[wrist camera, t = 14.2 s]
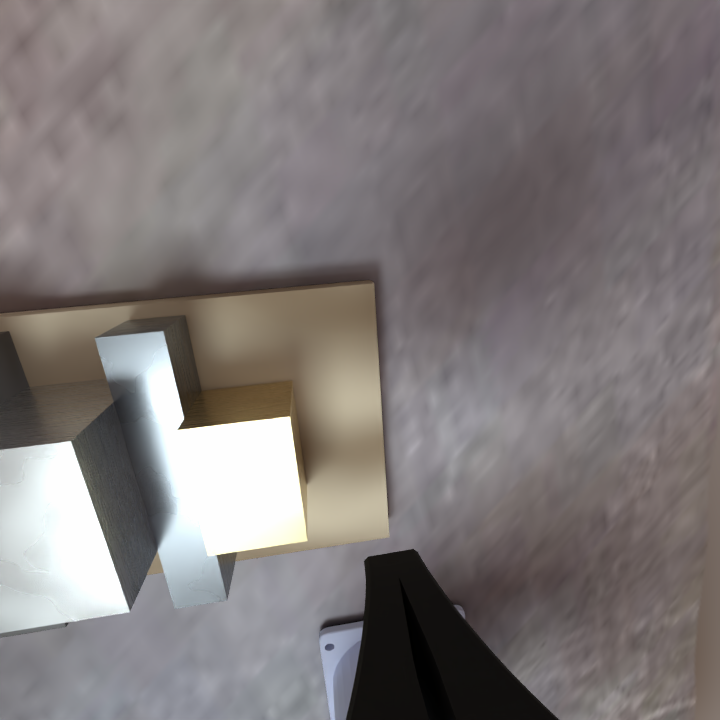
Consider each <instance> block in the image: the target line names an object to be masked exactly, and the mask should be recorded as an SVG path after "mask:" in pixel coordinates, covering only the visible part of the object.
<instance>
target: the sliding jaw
mask: <svg viewBox="0 0 720 720" xmlns="http://www.w3.org/2000/svg"><path fill="white" fill-rule="evenodd" d="M95 341H96V344H97V348H98V351H99V355H100V358H101V361H102V365H103V368H104V371H105V375H106V378H107V382H108V385H109V388H110V392H111V395H112V398H113V402H114V405H115V408H116V412H117V415H118V419H119V422H120V425H121V429H122V432H123V435H124V439H125V442H126V446H127V449H128V452H129V456H130V459H131V462H132V466H133V469H134V473H135V476H136V479H137V483H138V486H139V489H140V493H141V496H142V500H143V503H144V506H145V510H146V513H147V516H148V520H149V523H150V527H151V530H152V533H153V537H154V540H155V543H156V547H157V550H158V554H159V557H160V560H161V564H162V567H163V571H164V574H165V577H166V581H167V584H168V587H169V591H170V594H171V598H172V601H173V604H174V608H175V609H177V608H184V607H190V606H196V605H202V604H208V603H214V602H220V601H226V600H227V599H228V594H229V589H230V585H231V580H232V575H233V570H234V565H235V560H236V556H237V552H239V551H245V550H252V549H258V548H265V547H271V546H278V545H284V544H291V543H297V542H304V541H308V537H307V483H306V476H305V468H304V461H303V453H302V446H301V439H300V431H299V424H298V417H297V409H296V402H295V395H294V387H293V381H284V382H275V383H266V384H258V385H249V386H240V387H231V388H222V389H214V390H205V391H202V390H201V386H200V381H199V376H198V372H197V367H196V363H195V358H194V353H193V349H192V344H191V340H190V335H189V330H188V326H187V321H186V316H185V315H179V316H168V317H158V318H147V319H137V320H127V321H125V322H123V323H122V324H120V325H118V326H116V327H114V328H112V329H110V330H108V331H107V332H105V333H103V334H101V335H99V336H97V337H95Z"/></svg>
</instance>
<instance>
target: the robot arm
mask: <svg viewBox="0 0 720 720" xmlns="http://www.w3.org/2000/svg"><path fill="white" fill-rule="evenodd" d="M364 564H365V574H366V599H365V612H364V621H360V622H354V623H349V624H343V625H337V626H332V627H327V628H324V629H323V630H321V631H320V633H319V644H320V651H321V658H322V665H323V671H324V678H325V685H326V692H327V699H328V706H329V713H330V719H331V720H559V719H558V718H557V717H556V716H555V715H553V714H552V713H551V712H550V711H549V710H548V709H547V708H546V707H545V706H544V705H543V704H542V703H541V702H540V701H539V700H538V699H537V698H536V697H535V696H534V695H533V694H532V693H531V692H530V691H529V690H528V689H527V688H526V687H525V686H524V685H523V684H522V683H521V682H520V681H519V680H518V679H517V678H516V677H515V676H514V675H513V674H512V673H511V672H510V671H509V670H508V669H507V668H506V666H505V665H504V664H503V663H502V662H501V661H500V660H499V659H498V658H497V657H496V656H495V654H494V653H493V652H492V651H491V650H490V649H489V648H488V646H487V645H486V644H485V643H484V642H483V641H482V640H481V638H480V637H479V636H478V635H477V634H476V633H475V631H474V630H473V629H472V628H471V627H470V625H469V624H468V623H467V622H466V620H465V613H464V610H463V608H462V607H461V606H459V605H453V604H452V603H451V601H450V600H449V598H448V597H447V596H446V594H445V593H444V592H443V590H442V589H441V588H440V586H439V585H438V583H437V582H436V580H435V579H434V578H433V576H432V575H431V573H430V572H429V570H428V569H427V567H426V565H425V564H424V562H423V561H422V559H421V557H420V556H419V554H418V552H417V551H415V550H414V549H411V550H405V551H399V552H393V553H388V554H382V555H376V556H370V557H367V559H366V560H365V561H364Z"/></svg>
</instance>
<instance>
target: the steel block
mask: <svg viewBox="0 0 720 720" xmlns="http://www.w3.org/2000/svg"><path fill="white" fill-rule="evenodd" d="M157 551H158V550H157V547H156V543H155V540H154V537H153V533H152V530H151V527H150V523H149V520H148V516H147V513H146V510H145V506H144V503H143V500H142V496H141V493H140V489H139V486H138V483H137V479H136V476H135V473H134V469H133V466H132V462H131V459H130V456H129V452H128V449H127V446H126V442H125V439H124V435H123V432H122V429H121V425H120V422H119V419H118V415H117V412H116V408H115V405H114V402H113V398H112V395H111V392H110V388H109V385H108V382H107V379H98V380H89V381H80V382H70V383H61V384H52V385H43V386H34V387H29V388H27V389H25V390H23V391H22V392H20V393H18V394H17V395H15V396H13V397H11V398H10V399H8V400H6V401H5V402H3V403H1V404H0V633H5V632H11V631H17V630H23V629H29V628H36V627H42V626H48V625H54V624H60V623H66V622H72V621H78V620H84V619H90V618H97V617H103V616H109V615H115V614H121V613H127V612H130V611H131V608H132V606H133V604H134V602H135V599H136V597H137V595H138V593H139V591H140V588H141V586H142V584H143V582H144V580H145V577H146V575H147V573H148V571H149V569H150V566H151V564H152V562H153V560H154V558H155V555H156V553H157Z"/></svg>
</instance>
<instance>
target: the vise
mask: <svg viewBox="0 0 720 720" xmlns="http://www.w3.org/2000/svg"><path fill="white" fill-rule="evenodd" d="M179 315H185V316H186V321H187V326H188V330H189V335H190V340H191V344H192V349H193V353H194V358H195V363H196V367H197V372H198V376H199V381H200V386H201V390H202V391H205V390H214V389H222V388H231V387H240V386H249V385H258V384H266V383H275V382H284V381H293V387H294V395H295V402H296V409H297V417H298V424H299V431H300V439H301V446H302V453H303V461H304V468H305V476H306V483H307V537H308V541H304V542H297V543H291V544H284V545H278V546H271V547H265V548H258V549H252V550H245V551H239V552H237V556H236V560H235V561H240V560H247V559H253V558H260V557H266V556H272V555H279V554H285V553H292V552H298V551H304V550H311V549H317V548H324V547H330V546H337V545H343V544H349V543H356V542H362V541H369V540H375V539H381V538H388V537H389V524H388V507H387V490H386V474H385V457H384V440H383V423H382V407H381V390H380V373H379V357H378V340H377V323H376V307H375V290H374V283H373V282H372V281H371V280H364V281H353V282H342V283H331V284H319V285H308V286H297V287H286V288H275V289H264V290H253V291H242V292H231V293H220V294H209V295H198V296H187V297H176V298H165V299H154V300H143V301H132V302H121V303H110V304H99V305H88V306H77V307H66V308H55V309H44V310H33V311H22V312H11V313H0V404H1V403H3V402H5V401H6V400H8V399H10V398H11V397H13V396H15V395H17V394H18V393H20V392H22V391H23V390H25V389H27V388H29V387H34V386H43V385H52V384H61V383H70V382H80V381H89V380H98V379H107V378H106V375H105V371H104V368H103V365H102V361H101V358H100V355H99V351H98V348H97V344H96V341H95V337H97V336H99V335H101V334H103V333H105V332H107V331H108V330H110V329H112V328H114V327H116V326H118V325H120V324H122V323H123V322H125V321H127V320H137V319H147V318H158V317H168V316H179ZM163 572H164V571H163V567H162V564H161V560H160V557H159V554H158V551H157V553H156V555H155V558H154V560H153V562H152V564H151V566H150V569H149V571H148V573H147V575H151V574H157V573H163ZM68 623H69V622H66V623H60V624H54V625H48V626H42V627H36V628H29V629H23V630H17V631H11V632H5V633H0V638H2V637H8V636H14V635H20V634H26V633H32V632H38V631H44V630H50V629H56V628H62V627H66V626H67V624H68Z"/></svg>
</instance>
